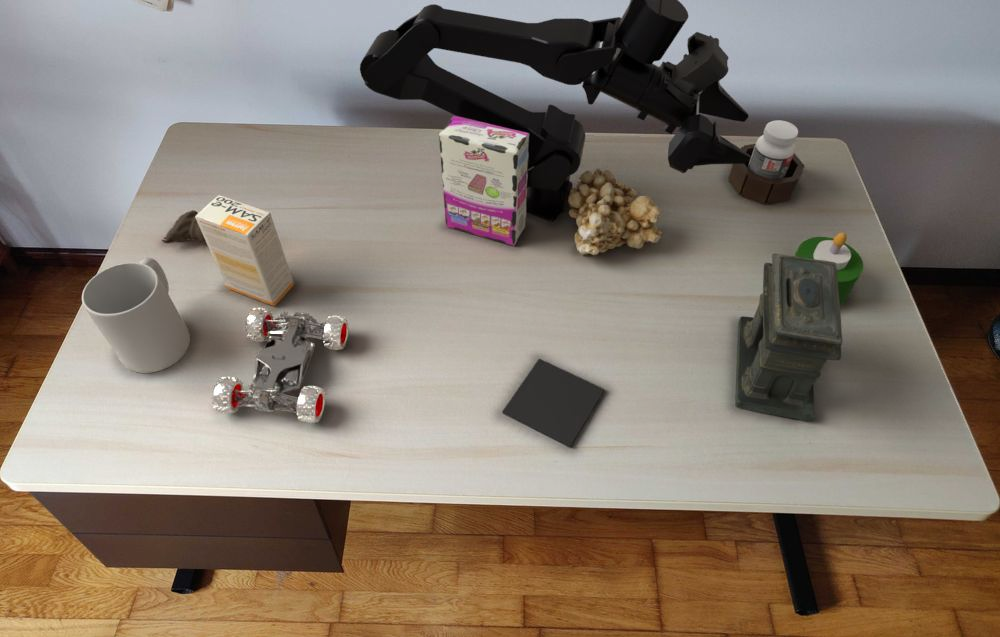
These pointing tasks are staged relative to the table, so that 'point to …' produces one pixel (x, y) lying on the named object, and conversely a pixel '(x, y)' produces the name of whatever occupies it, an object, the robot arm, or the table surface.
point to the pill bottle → (774, 150)
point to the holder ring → (765, 181)
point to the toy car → (282, 365)
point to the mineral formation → (611, 214)
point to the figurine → (185, 229)
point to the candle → (835, 259)
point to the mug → (137, 315)
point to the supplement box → (246, 249)
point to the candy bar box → (484, 178)
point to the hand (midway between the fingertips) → (747, 138)
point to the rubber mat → (554, 402)
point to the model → (789, 337)
